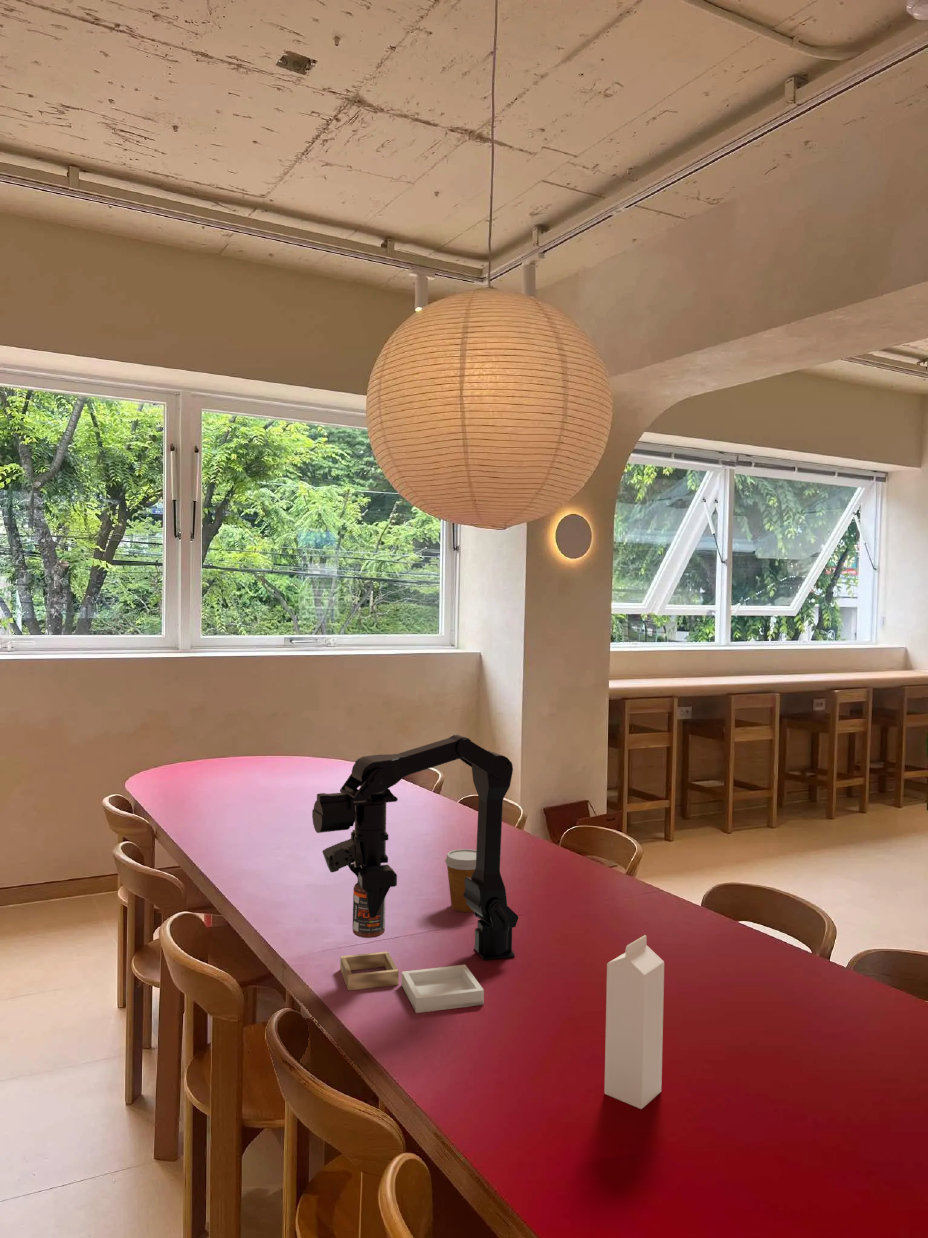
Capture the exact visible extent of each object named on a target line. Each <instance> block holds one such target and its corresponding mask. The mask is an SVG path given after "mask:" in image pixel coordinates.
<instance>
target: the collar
mask: <svg viewBox="0 0 928 1238" xmlns="http://www.w3.org/2000/svg"><path fill="white" fill-rule="evenodd" d="M339 958H340V959H339V962H340V964H339V967H340V968H339V970H340V972H341V975H342V977H343V980H344V982H345V986H346V988H347V990H348V991H354V990H355V991H356V990H365V989H373V988H379V987H381V988H383V987H391V986H398V985H399V984H400V983H399V976H400V975H399V973H400V971H399V968H398V967H397V965H396V963H395V961H394V960H393V958H392V956H391V954H390V952H389V951H380V952H370V953H369V952H368V953H360V954H351V955H341V956H340V957H339ZM383 967H384V968H385V970H378V971H371V972H370V971H369V972H359V973H352V971H356V970H363V969H364V970H365V969H374V968H383Z"/></svg>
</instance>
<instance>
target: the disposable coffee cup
mask: <svg viewBox="0 0 928 1238" xmlns="http://www.w3.org/2000/svg"><path fill="white" fill-rule="evenodd" d="M476 850H477V849H470V848H469V849H468V848H467V849H466V848H460V849H454V850H451V851H448V852H447V854H446V857H445V859H444V862H445V864H446V865H447V876H448V886H449V888H448V889H449V895H450V905H451V909H453V910H454V911H456V912H461V913H468V912H469V913H470V912H473V910H472V909H471V908H470V907H469V906H468V905H467V902H466V898H464V897H463V895H464V892H465V877H470V878H471V877H472V875H473V873H474V871H475V868H476Z"/></svg>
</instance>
